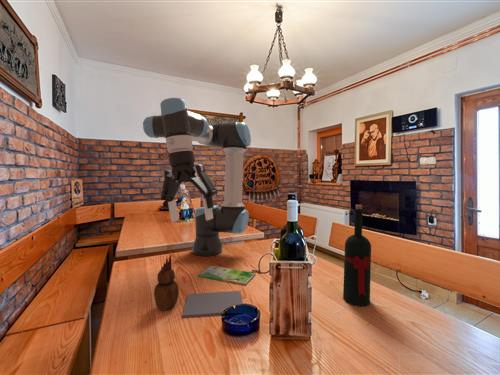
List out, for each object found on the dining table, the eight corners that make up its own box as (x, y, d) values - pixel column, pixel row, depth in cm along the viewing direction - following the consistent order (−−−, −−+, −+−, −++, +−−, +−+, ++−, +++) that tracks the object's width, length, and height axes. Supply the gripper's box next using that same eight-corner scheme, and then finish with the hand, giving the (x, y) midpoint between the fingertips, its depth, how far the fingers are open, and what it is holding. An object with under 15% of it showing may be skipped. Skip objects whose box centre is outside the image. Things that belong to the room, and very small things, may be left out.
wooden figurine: (172, 299, 76) (172, 252, 76) (181, 306, 72) (181, 256, 71) (151, 307, 72) (150, 257, 71) (159, 315, 68) (158, 262, 67)
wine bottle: (347, 309, 71) (350, 207, 69) (340, 292, 81) (342, 203, 79) (376, 312, 69) (379, 208, 68) (365, 294, 79) (368, 203, 78)
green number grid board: (246, 287, 86) (256, 276, 95) (246, 283, 86) (256, 272, 95) (198, 277, 93) (211, 268, 103) (198, 274, 93) (211, 265, 103)
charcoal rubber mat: (182, 317, 67) (182, 315, 67) (188, 295, 79) (188, 293, 79) (243, 313, 69) (243, 311, 69) (240, 292, 81) (240, 290, 81)
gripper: (141, 158, 76) (153, 224, 77) (206, 143, 65) (218, 221, 66) (160, 157, 82) (170, 219, 84) (221, 144, 71) (232, 215, 73)
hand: (191, 220), depth 75 cm, fingers open, 13 cm apart
